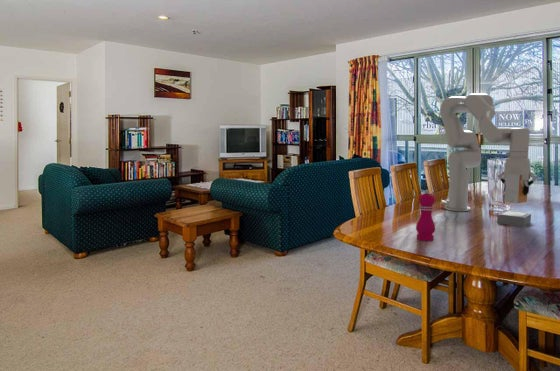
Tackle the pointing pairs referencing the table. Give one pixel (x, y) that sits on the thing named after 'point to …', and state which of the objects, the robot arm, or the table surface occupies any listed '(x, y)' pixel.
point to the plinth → (514, 218)
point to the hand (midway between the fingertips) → (516, 193)
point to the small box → (514, 189)
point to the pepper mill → (426, 218)
